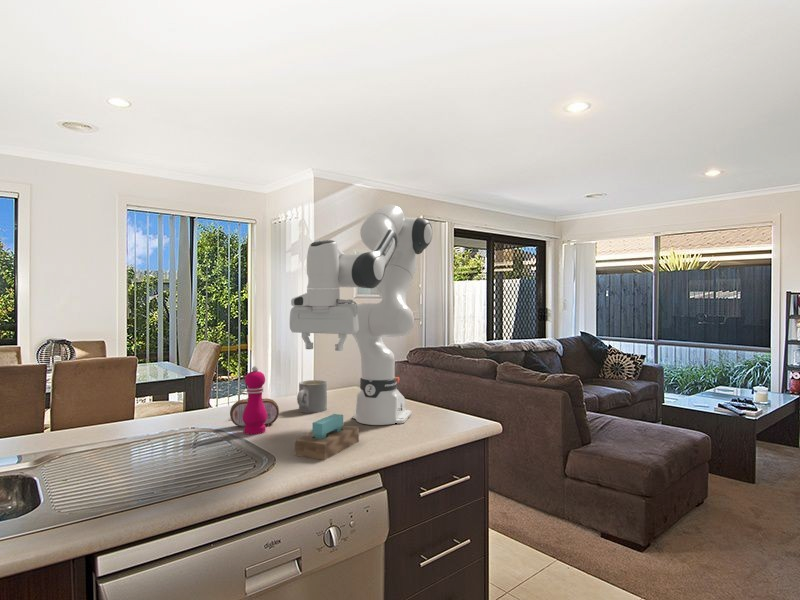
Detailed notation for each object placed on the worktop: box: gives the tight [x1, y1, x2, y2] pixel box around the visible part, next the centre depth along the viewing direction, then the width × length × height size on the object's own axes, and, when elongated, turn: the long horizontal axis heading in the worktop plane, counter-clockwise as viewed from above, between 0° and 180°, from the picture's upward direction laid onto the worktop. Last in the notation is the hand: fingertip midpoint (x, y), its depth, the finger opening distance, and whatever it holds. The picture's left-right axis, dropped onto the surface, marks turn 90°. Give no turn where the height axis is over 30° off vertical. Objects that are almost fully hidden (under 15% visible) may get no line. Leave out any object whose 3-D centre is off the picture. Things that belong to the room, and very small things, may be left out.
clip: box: [311, 413, 344, 440], centre depth 136 cm, size 11×3×8 cm, turn 157°
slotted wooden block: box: [294, 424, 360, 461], centre depth 136 cm, size 18×9×4 cm, turn 157°
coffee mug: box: [296, 379, 328, 414], centre depth 181 cm, size 13×10×10 cm
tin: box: [229, 398, 280, 428], centre depth 160 cm, size 15×3×8 cm, turn 108°
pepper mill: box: [243, 365, 267, 435], centre depth 152 cm, size 7×7×20 cm
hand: (324, 349), depth 137 cm, fingers open, 8 cm apart
